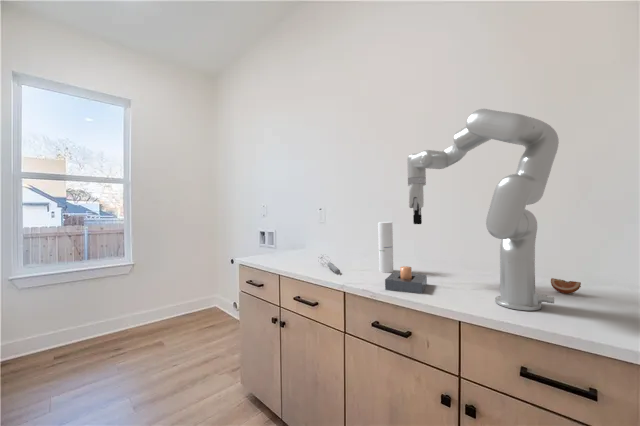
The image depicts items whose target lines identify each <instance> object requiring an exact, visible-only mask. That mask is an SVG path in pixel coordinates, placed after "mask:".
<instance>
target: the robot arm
mask: <svg viewBox="0 0 640 426" xmlns="http://www.w3.org/2000/svg"><path fill="white" fill-rule="evenodd" d="M559 139H560V138H559V136H558V133H557V132H556V130H555V128H553V127H552V125H551V124H548V123H547V122H544V120H543V121H542V120H541V119H538V118H535V117H532V116H528V115H524V114H520V113H516V112H515V113H514V112H507V111H501V110H494V109H488V108H480V109H476V110H475V111H472V113H470V114H469V116H468V117H467V119H466V121H465V126H464V127H463V128H461V129H459V130H458V131H456V132H455V133H454V135H453V144H452V145H450V146H449V147H447V148H445V149H443V150H442V151H440V150H434V149H433V150H432V149H426V150H422V151H419V152H417V153H412V154H409V155H408V156H407V159H406V160H407V161H406V162H407V187H409V191H408V196H409V197H408V203H409V204H408V207H409V208H410V209H413V215H412V216H413V218H412V219H413V220H412V222H413V225H422V221H423V220H422V219H423V218H422V208H423V207H424V204H425V203H424V200H425V199H424V195H425V194H424V186H427V179H426V177H427V174H426V173H427V172H426V170H427V169H428V170H429V169H430V170H431V169H432V170H443V169H446V168H448V167H451V166H452V165H455V164H456V163H458V162H460V161H461V160H462V159H463V158H464V157H465V156H466V155H467V153H468V152H470V151H472V150H474V149H475V148H477V147H479V146H481V145H483V144H485V143H487V142H489V141H491V140H495V141H499V142H502V143H507V144H512V145H519V146H523V147H525V149H524V151H523V152H522V155H521V156H520V159H519V161H518V166H517V168H516V171H515V173H512V174H508V175H505V176H504V177H503V178H502V179H501V180H500V181H499V182H498V183H497V185H496V186H495V189H494V191H493V193H492V198H491V201H490V205H489V207H488V211H487V216H486V218H485V219H486V220H485V225H486V229H487V232H488V233H489V234H490V235H491V237H494V238H496V239H499V240H500V244H499V248H500V249H499V285H500V289H499V290H500V292H499V293H500V294H499V295H497V296H496V297H495V298H494V301H495V303H496V304H497V305H500V306H501V307H505V308H508V309H512V310H517V311H527V312H529V311H531V312H533V311H538V310H541V309H542V303H547V304H555V297H554V296H548V295H546V294H539V293H538V292H537V291H536V239H537V232H538V221H537V218H536V216H535V215H534V213H533V212H531V211H530V210H528V209H526V206H528V205H529V206H530V205H534V204H536V203H538V202H539V201H541V199H542V198H543V196H544V192H545V190H546V186H547V183H548V182H549V181H548V180H549V177H550V174H551V171H552V166H553V163H554V161H555V159H556V156H557V153H558V150H559V143H560V142H559V141H560V140H559Z"/></svg>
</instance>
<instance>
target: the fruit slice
mask: <svg viewBox="0 0 640 426" xmlns="http://www.w3.org/2000/svg"><path fill="white" fill-rule="evenodd" d="M550 285H551V286H552V288H553V289H554V290H555V291H557V292H558V293H561V294H566V295H567V294H569V295H570V294H573V293H576V292H577V291H579V289H581V287H582V286H581V285H582V283H581V282H580V281H573V280H572V281H571V280H570V281H569V280H568V281H567V280H564V279H561V278H553V277H551V279H550Z"/></svg>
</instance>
